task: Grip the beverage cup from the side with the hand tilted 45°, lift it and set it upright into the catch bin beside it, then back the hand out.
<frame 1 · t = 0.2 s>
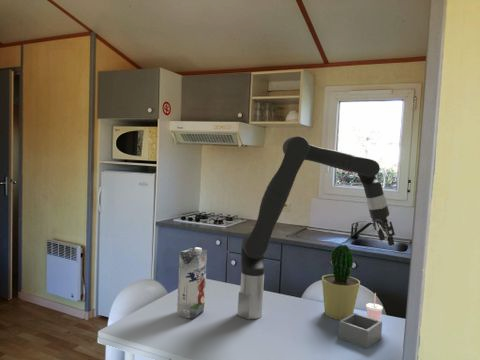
hand: (387, 242, 166), 31 cm above the table, tool tilted 20°, fingers open, 8 cm apart
juice carton: (190, 314, 157), on the table
catch bin: (359, 337, 144), on the table
potted cactus: (338, 315, 165), on the table
beverage cup: (372, 329, 152), on the table
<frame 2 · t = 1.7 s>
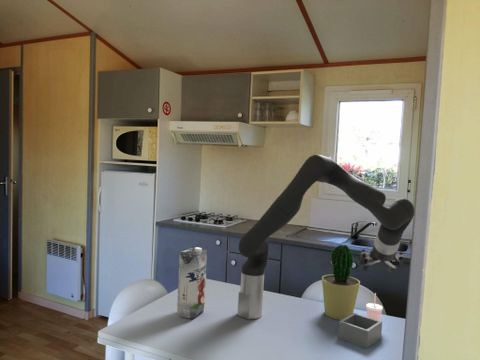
hand: (377, 269, 142), 26 cm above the table, tool tilted 45°, fingers open, 8 cm apart
nothing on the table moved.
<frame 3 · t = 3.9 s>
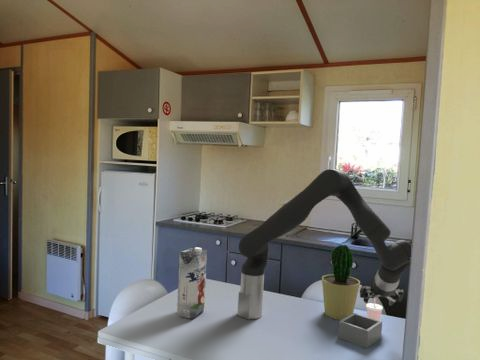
hand: (377, 302, 146), 13 cm above the table, tool tilted 45°, fingers open, 8 cm apart
nothing on the table moved.
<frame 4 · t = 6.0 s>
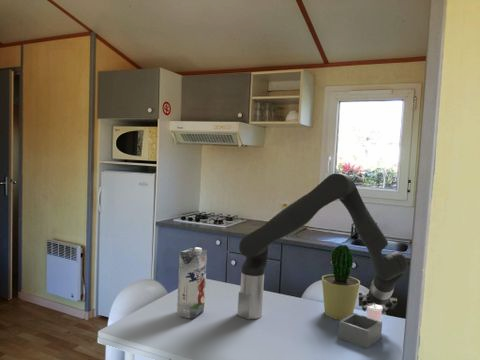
hand: (373, 309, 154), 7 cm above the table, tool tilted 45°, fingers closed on beverage cup, 6 cm apart
beverage cup: (372, 329, 152), on the table, touching gripper
everything else where it was.
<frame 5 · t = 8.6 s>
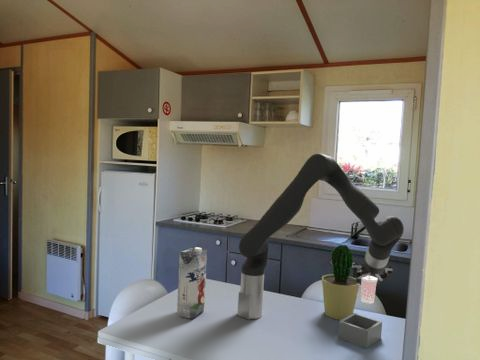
hand: (367, 281, 149), 19 cm above the table, tool tilted 45°, fingers closed on beverage cup, 6 cm apart
beverage cup: (367, 301, 147), point 12 cm above the table, touching gripper
everything else where it was.
when the fingers open (9 cm above the table, at t = 11.5 s): beverage cup stays where it is, resting on catch bin.
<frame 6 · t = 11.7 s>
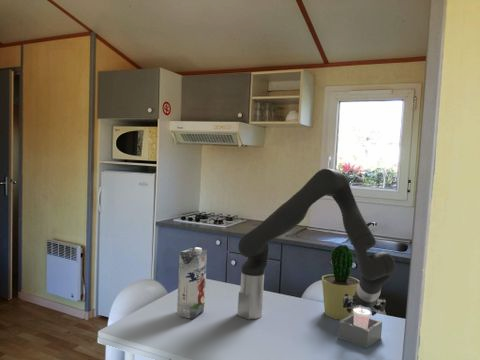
hand: (360, 311, 145), 9 cm above the table, tool tilted 45°, fingers open, 8 cm apart
beverage cup: (359, 335, 144), point 1 cm above the table, touching catch bin
everything else where it was.
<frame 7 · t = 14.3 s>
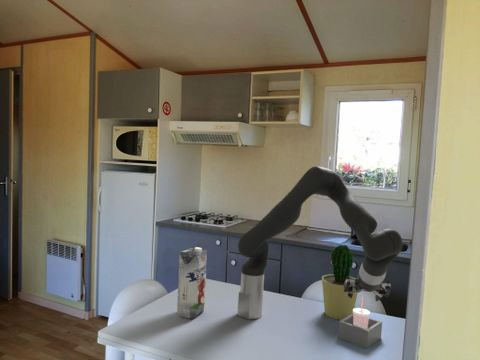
hand: (363, 297, 134), 18 cm above the table, tool tilted 45°, fingers open, 8 cm apart
nothing on the table moved.
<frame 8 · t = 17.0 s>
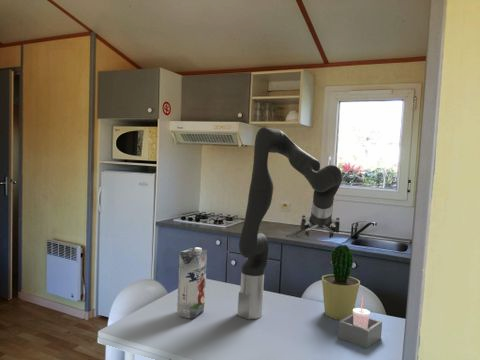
hand: (318, 235, 154), 35 cm above the table, tool tilted 45°, fingers open, 8 cm apart
nothing on the table moved.
at the end: beverage cup 0.2 cm off-centre on the catch bin, point 0.8 cm above the catch bin's base; beverage cup tilted 0°; the gripper is holding nothing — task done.
